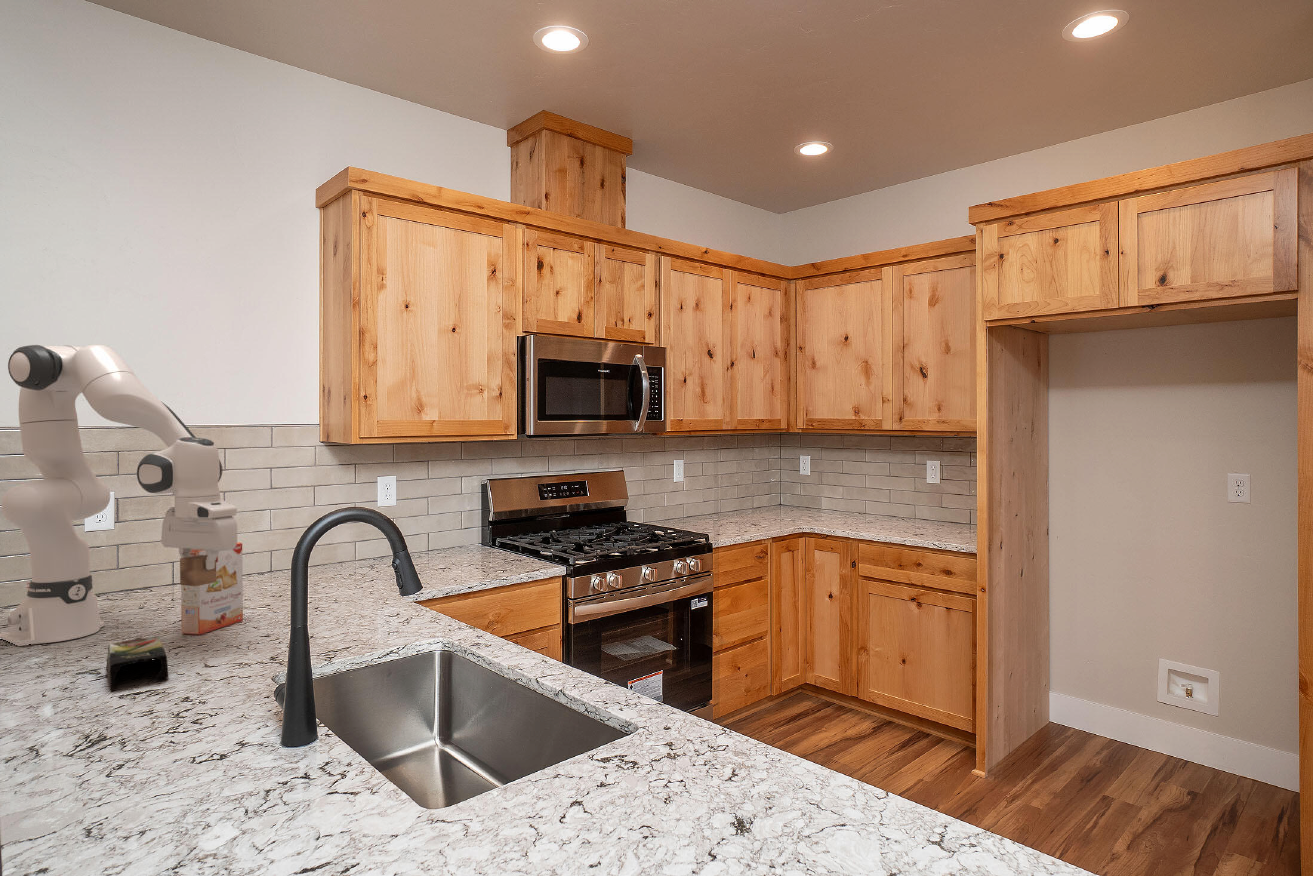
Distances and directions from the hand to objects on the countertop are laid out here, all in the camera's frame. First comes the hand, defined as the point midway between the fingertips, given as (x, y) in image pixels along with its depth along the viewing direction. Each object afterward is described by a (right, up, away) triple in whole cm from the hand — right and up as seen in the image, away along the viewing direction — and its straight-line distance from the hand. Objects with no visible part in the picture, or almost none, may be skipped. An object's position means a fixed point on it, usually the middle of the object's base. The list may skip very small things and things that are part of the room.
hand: (198, 568), depth 165 cm
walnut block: (0, -3, 0) cm, 3 cm away
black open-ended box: (-2, -19, -17) cm, 26 cm away
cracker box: (-8, -19, +18) cm, 27 cm away
